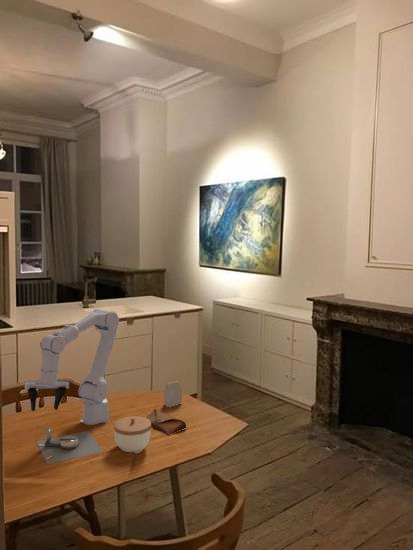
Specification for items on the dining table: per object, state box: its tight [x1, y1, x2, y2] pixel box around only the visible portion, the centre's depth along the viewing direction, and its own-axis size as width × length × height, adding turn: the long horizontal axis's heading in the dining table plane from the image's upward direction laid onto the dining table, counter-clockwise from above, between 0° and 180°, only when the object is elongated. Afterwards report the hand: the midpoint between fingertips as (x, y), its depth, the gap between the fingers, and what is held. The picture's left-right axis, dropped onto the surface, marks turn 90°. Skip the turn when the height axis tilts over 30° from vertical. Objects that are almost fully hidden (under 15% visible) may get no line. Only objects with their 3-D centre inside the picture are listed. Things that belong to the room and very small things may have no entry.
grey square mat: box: [36, 430, 104, 465], centre depth 153 cm, size 18×18×1 cm
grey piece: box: [45, 428, 78, 450], centre depth 153 cm, size 11×6×5 cm, turn 90°
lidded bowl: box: [113, 415, 152, 455], centre depth 154 cm, size 13×13×11 cm
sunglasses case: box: [145, 408, 187, 436], centre depth 174 cm, size 18×7×7 cm
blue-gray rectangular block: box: [163, 380, 183, 408], centre depth 195 cm, size 4×7×10 cm, turn 131°
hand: (44, 409), depth 155 cm, fingers open, 7 cm apart
